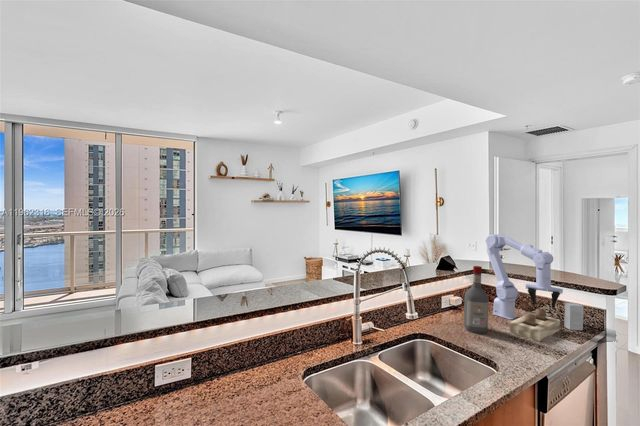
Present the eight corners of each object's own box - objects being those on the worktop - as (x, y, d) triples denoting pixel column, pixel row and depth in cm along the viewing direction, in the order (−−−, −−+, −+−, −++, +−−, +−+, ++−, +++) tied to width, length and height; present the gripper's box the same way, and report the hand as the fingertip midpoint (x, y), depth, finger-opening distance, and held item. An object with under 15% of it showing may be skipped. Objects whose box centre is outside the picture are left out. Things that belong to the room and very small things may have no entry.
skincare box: (576, 327, 154) (577, 303, 154) (582, 330, 150) (584, 305, 150) (563, 326, 155) (564, 302, 155) (569, 329, 151) (570, 305, 150)
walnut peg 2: (534, 319, 152) (534, 309, 152) (537, 318, 154) (537, 308, 154) (543, 322, 149) (544, 312, 149) (546, 320, 151) (547, 310, 151)
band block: (509, 332, 146) (510, 321, 146) (531, 322, 160) (531, 312, 160) (539, 342, 136) (539, 330, 136) (559, 330, 150) (560, 319, 150)
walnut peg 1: (523, 325, 145) (523, 314, 145) (527, 323, 147) (527, 312, 147) (533, 328, 142) (533, 317, 142) (536, 326, 144) (537, 315, 144)
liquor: (488, 334, 144) (491, 269, 143) (467, 332, 146) (469, 267, 145) (482, 326, 153) (485, 265, 152) (462, 324, 154) (464, 264, 154)
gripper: (523, 276, 154) (523, 304, 153) (559, 280, 143) (560, 310, 142) (527, 274, 158) (528, 301, 158) (563, 278, 147) (564, 307, 147)
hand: (543, 305), depth 150 cm, fingers open, 7 cm apart
